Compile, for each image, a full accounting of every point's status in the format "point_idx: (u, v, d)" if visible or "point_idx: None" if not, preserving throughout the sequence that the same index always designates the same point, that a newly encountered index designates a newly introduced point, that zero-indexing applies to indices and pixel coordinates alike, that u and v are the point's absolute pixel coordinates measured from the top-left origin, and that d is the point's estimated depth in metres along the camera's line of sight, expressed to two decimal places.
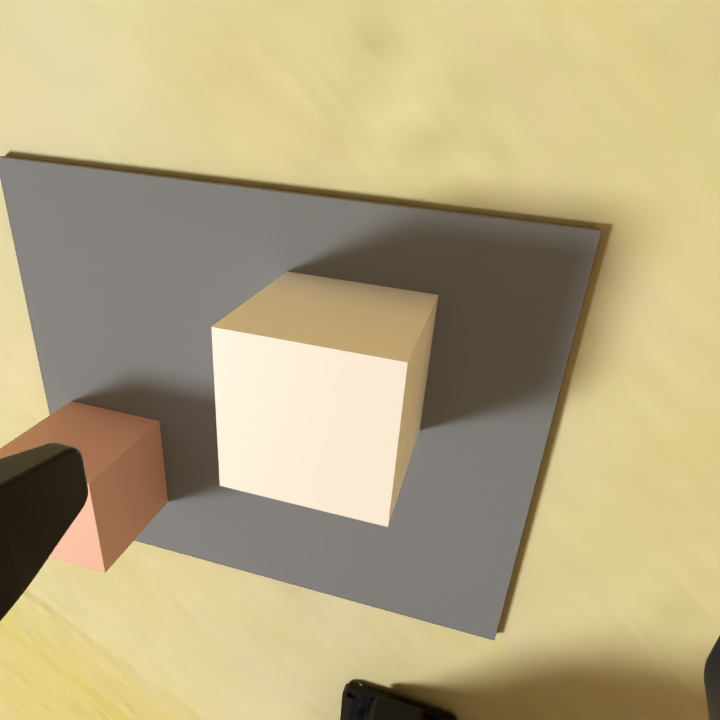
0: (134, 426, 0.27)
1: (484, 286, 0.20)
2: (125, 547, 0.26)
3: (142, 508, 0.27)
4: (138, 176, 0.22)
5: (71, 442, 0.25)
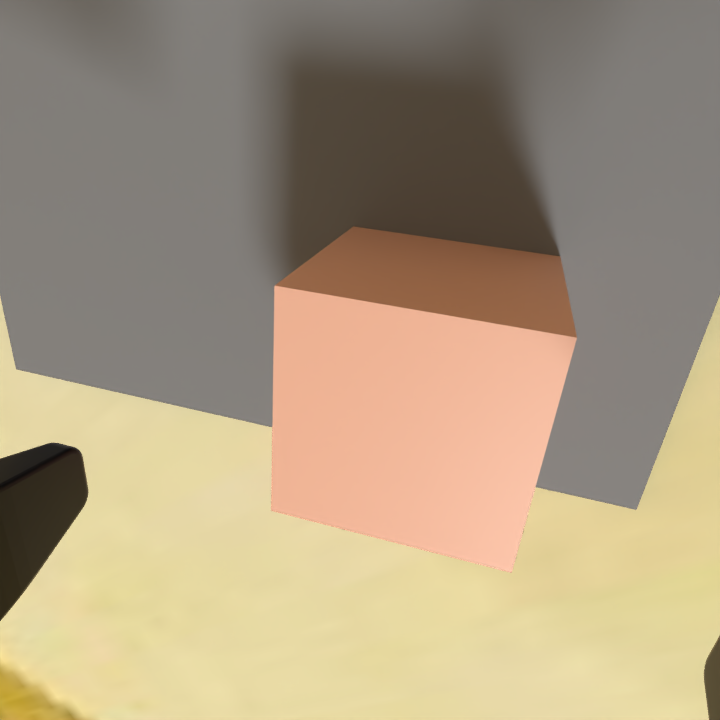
0: None
1: None
2: (563, 304, 0.10)
3: (505, 272, 0.12)
4: None
5: None
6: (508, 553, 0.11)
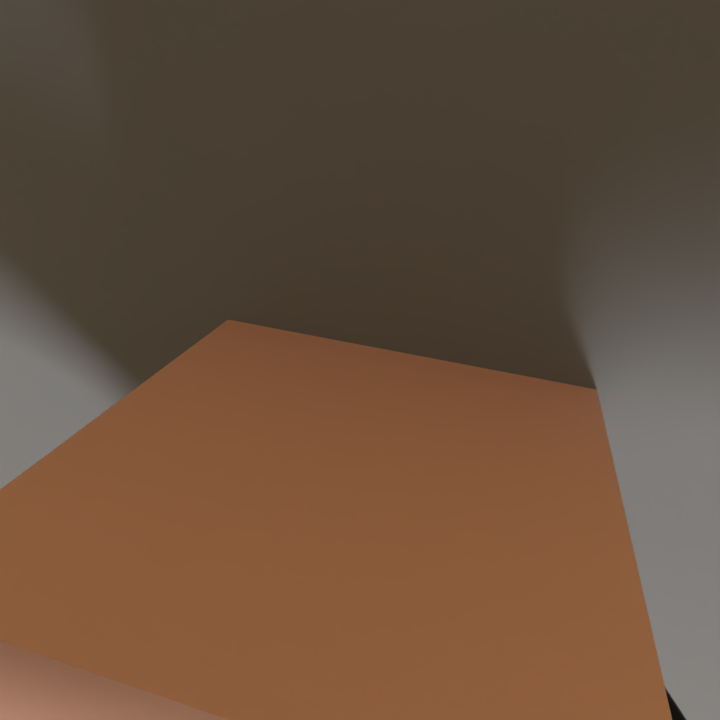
0: None
1: None
2: (630, 619, 0.04)
3: (490, 459, 0.05)
4: None
5: None
6: None
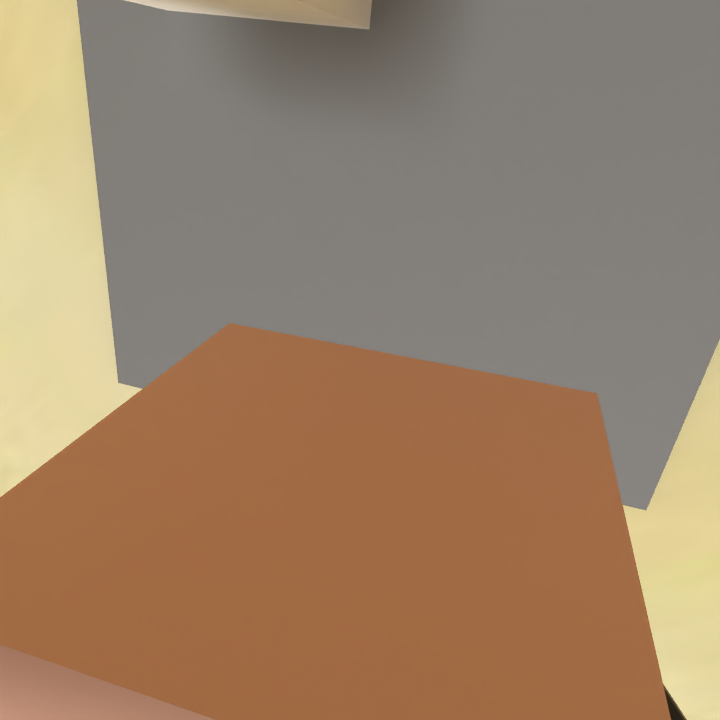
0: None
1: None
2: (631, 623, 0.04)
3: (492, 463, 0.05)
4: (101, 214, 0.19)
5: None
6: None
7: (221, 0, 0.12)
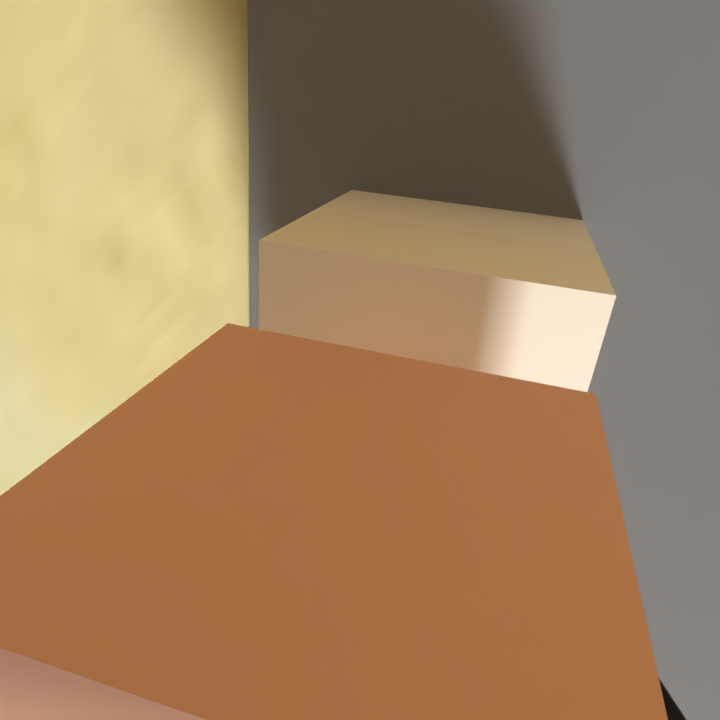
0: None
1: (335, 123, 0.15)
2: (628, 625, 0.04)
3: (490, 463, 0.05)
4: None
5: None
6: None
7: None
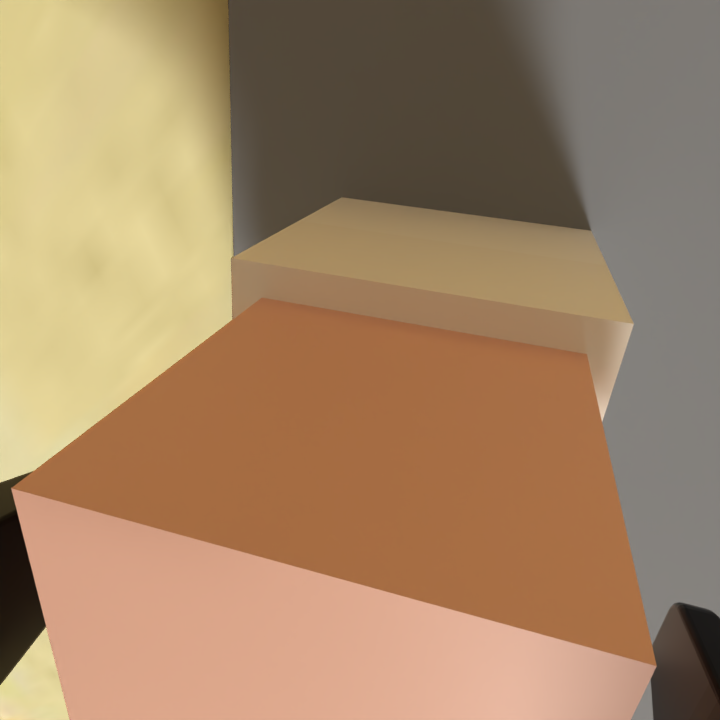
0: None
1: (323, 125, 0.13)
2: (608, 512, 0.05)
3: (495, 404, 0.07)
4: None
5: None
6: None
7: None
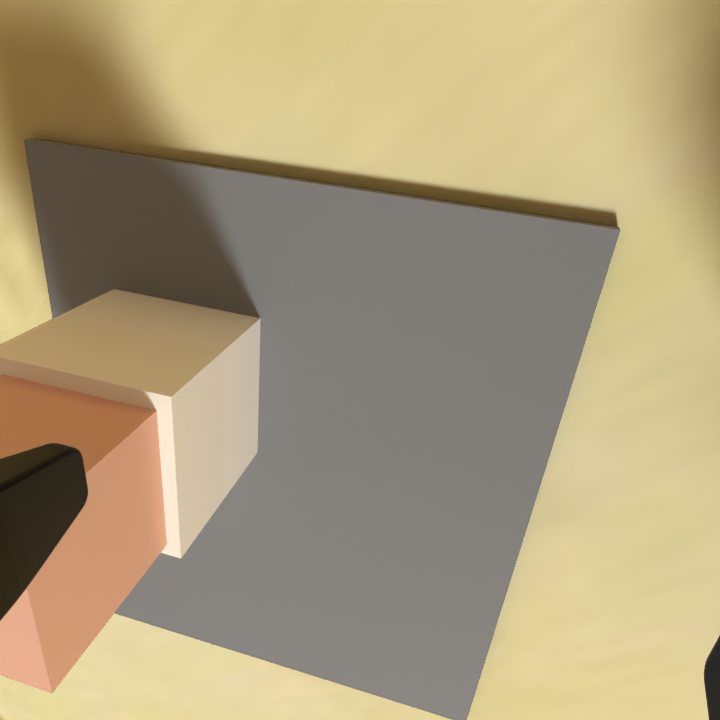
0: None
1: (96, 245, 0.21)
2: None
3: (68, 440, 0.14)
4: None
5: None
6: (43, 679, 0.13)
7: None
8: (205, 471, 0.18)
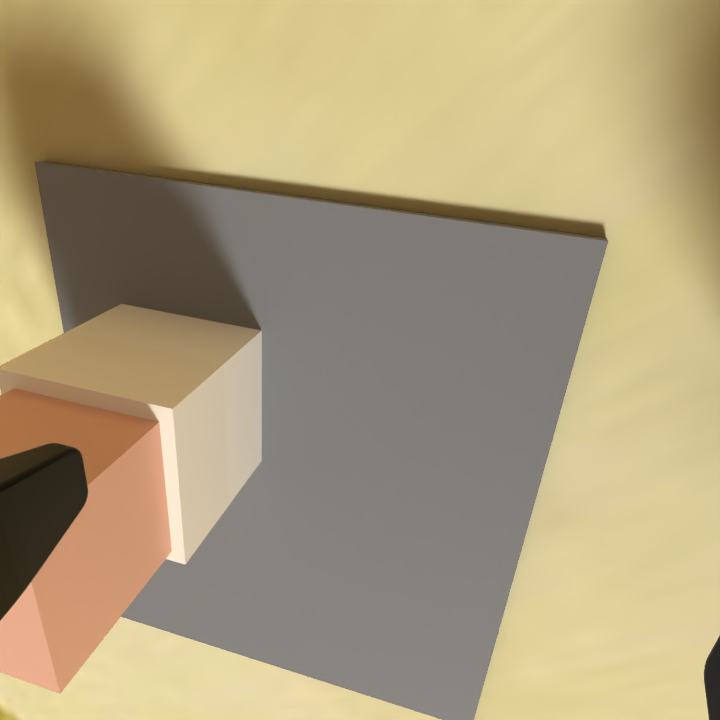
0: None
1: (103, 262, 0.22)
2: None
3: None
4: None
5: None
6: (52, 680, 0.14)
7: None
8: (208, 480, 0.19)
